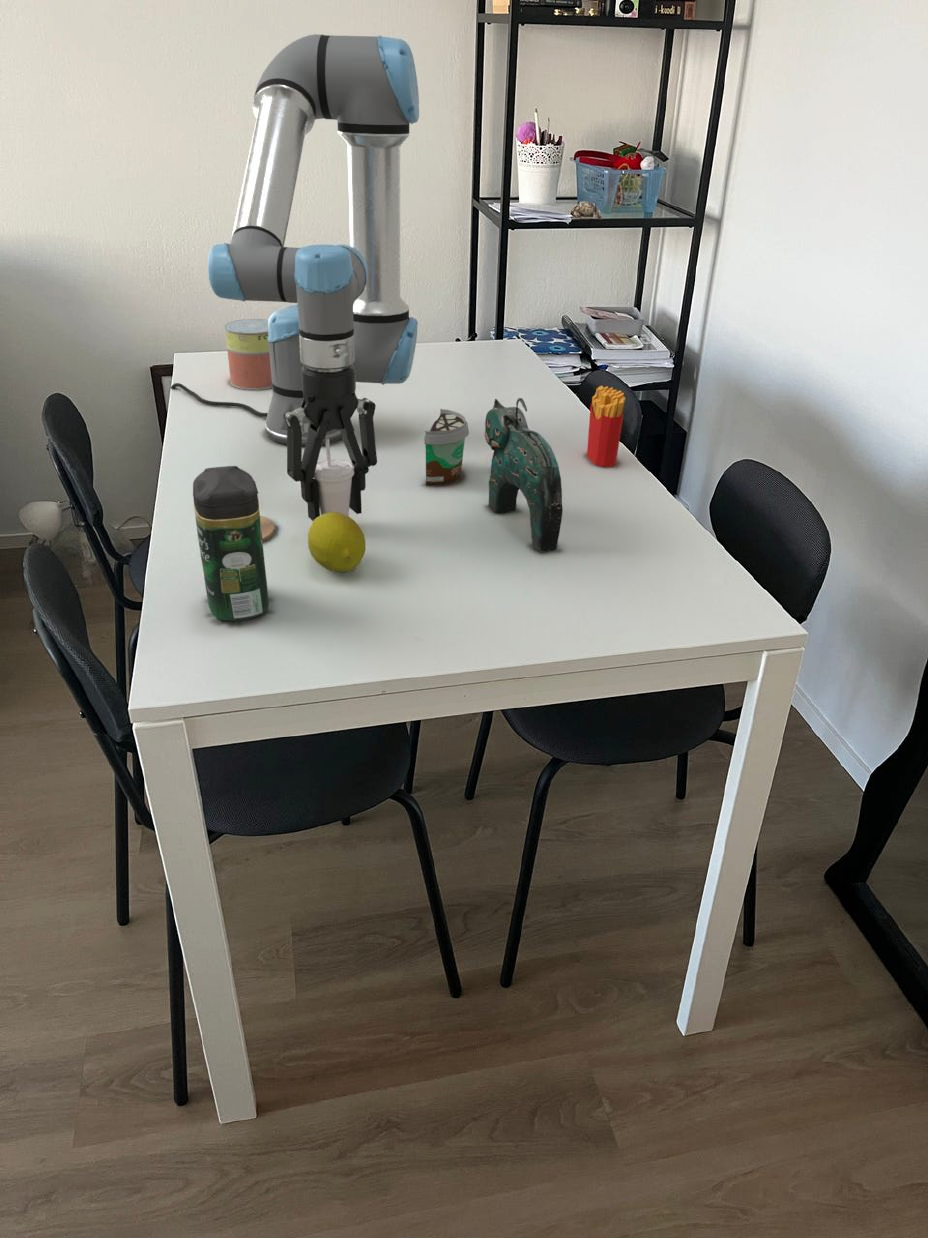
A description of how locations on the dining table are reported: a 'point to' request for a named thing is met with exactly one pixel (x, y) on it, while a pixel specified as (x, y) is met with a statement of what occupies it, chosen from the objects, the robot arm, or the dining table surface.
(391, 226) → the robot arm
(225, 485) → the coffee jar
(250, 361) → the canned food
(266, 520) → the cork coaster
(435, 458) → the food container
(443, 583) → the dining table surface
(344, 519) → the lemon
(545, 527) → the ceramic cat
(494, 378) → the dining table surface
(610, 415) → the french fries
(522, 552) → the dining table surface
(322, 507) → the white drink cup
